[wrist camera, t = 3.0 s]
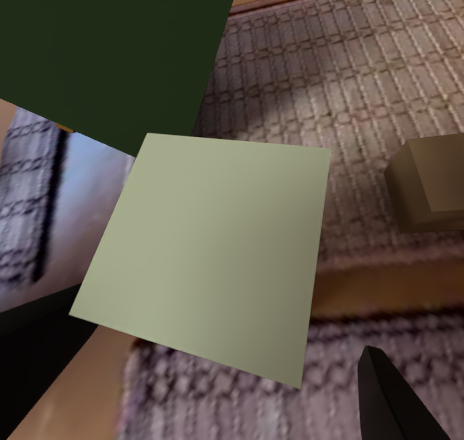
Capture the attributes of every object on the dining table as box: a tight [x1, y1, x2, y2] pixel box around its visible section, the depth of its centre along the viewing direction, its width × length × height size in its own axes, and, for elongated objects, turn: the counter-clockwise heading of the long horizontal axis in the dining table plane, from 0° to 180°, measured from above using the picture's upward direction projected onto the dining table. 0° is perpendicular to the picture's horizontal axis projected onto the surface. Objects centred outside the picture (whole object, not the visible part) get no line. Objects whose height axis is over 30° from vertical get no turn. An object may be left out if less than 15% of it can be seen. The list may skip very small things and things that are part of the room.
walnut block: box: [383, 133, 464, 234], centre depth 16 cm, size 5×5×4 cm
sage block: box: [69, 133, 331, 389], centre depth 12 cm, size 5×5×13 cm
